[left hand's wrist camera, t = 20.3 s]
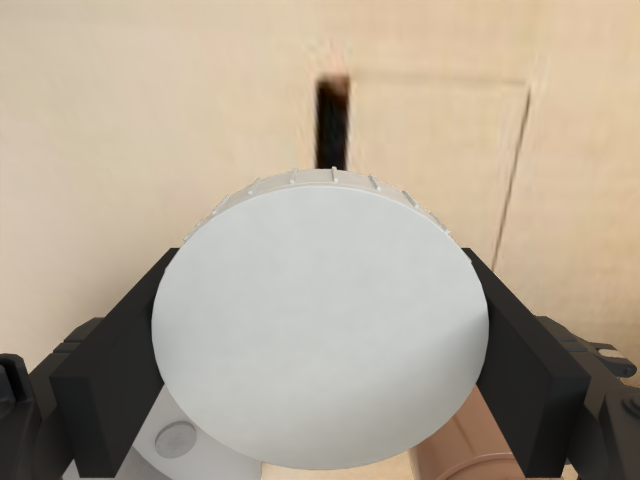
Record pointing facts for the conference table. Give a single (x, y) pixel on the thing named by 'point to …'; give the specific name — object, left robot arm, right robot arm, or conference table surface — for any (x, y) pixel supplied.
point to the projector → (177, 451)
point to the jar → (467, 448)
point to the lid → (320, 321)
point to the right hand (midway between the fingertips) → (387, 372)
